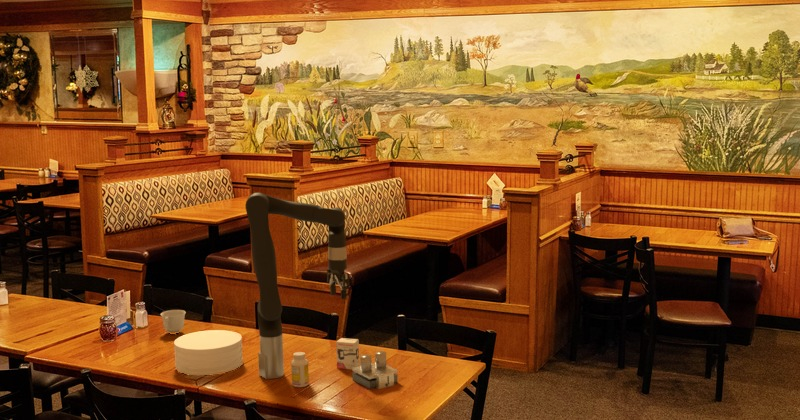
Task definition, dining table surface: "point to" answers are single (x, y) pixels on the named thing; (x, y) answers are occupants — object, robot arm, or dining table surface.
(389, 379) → the scale base
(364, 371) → the cylinder
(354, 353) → the ink box
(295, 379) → the supplement bottle
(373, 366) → the pan
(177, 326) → the teacup
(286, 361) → the dining table surface
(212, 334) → the plate stack
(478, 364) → the dining table surface
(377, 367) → the cylinder
